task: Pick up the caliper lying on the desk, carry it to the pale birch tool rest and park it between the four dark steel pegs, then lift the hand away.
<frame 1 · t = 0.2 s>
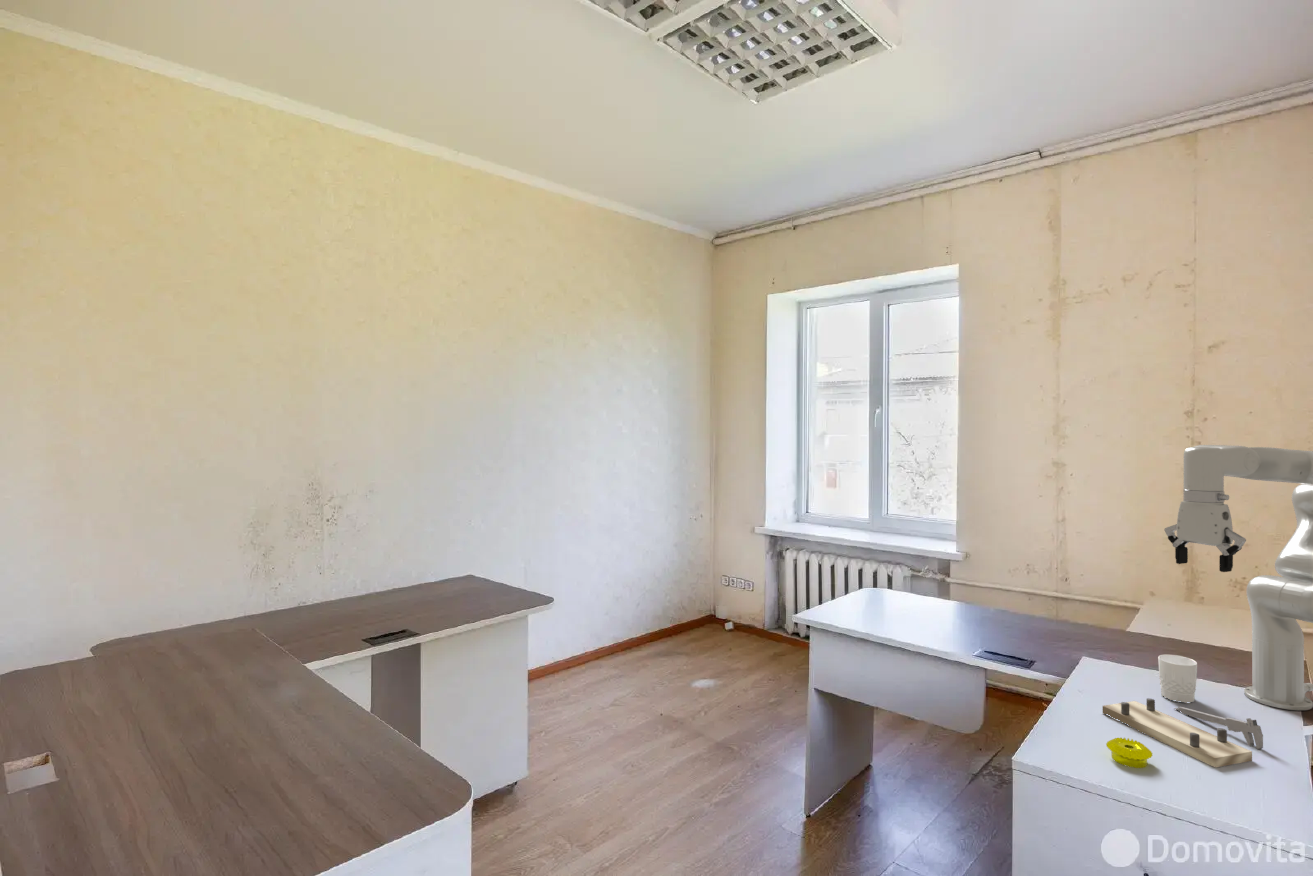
hand: (1203, 567, 158), 36 cm above the table, tool pointing down, fingers open, 9 cm apart
caliper: (1215, 730, 151), on the table
white cup: (1177, 699, 167), on the table
gear: (1129, 761, 138), on the table
tool rest: (1171, 735, 148), on the table
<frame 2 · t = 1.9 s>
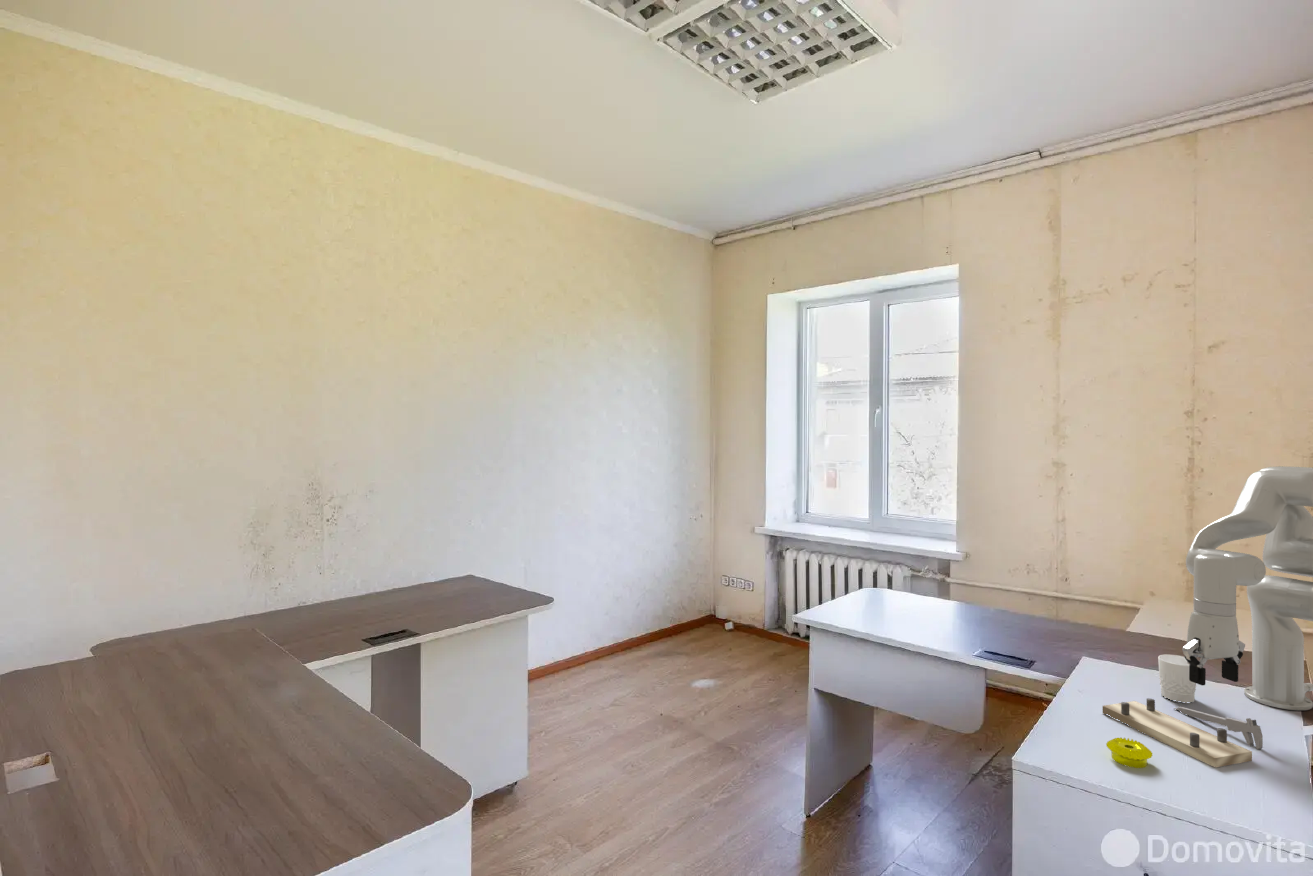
hand: (1213, 681, 150), 11 cm above the table, tool pointing down, fingers open, 9 cm apart
nothing on the table moved.
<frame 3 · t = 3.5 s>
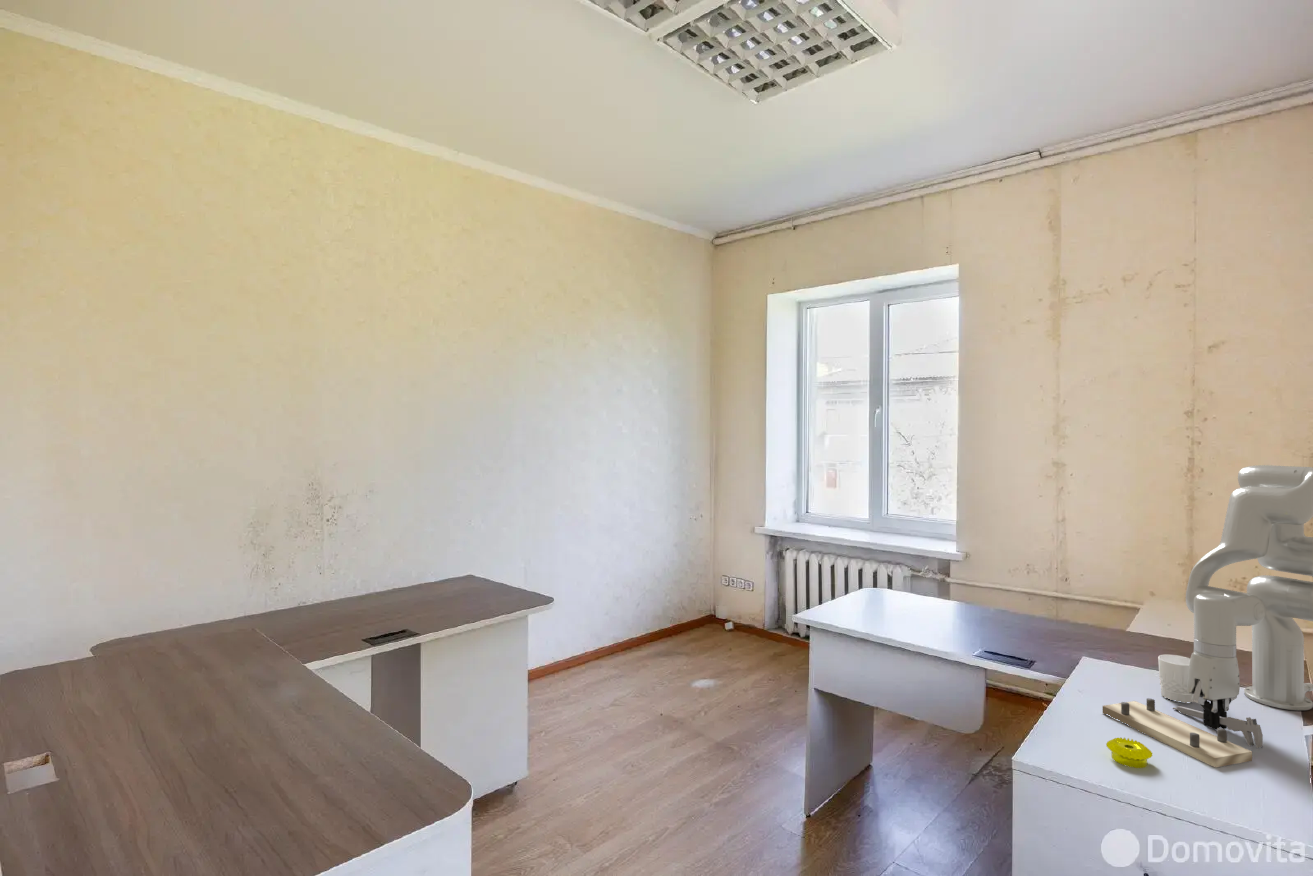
hand: (1215, 726, 151), 0 cm above the table, tool pointing down, fingers closed on caliper, 1 cm apart
caliper: (1214, 729, 151), on the table, touching gripper
everything else where it was.
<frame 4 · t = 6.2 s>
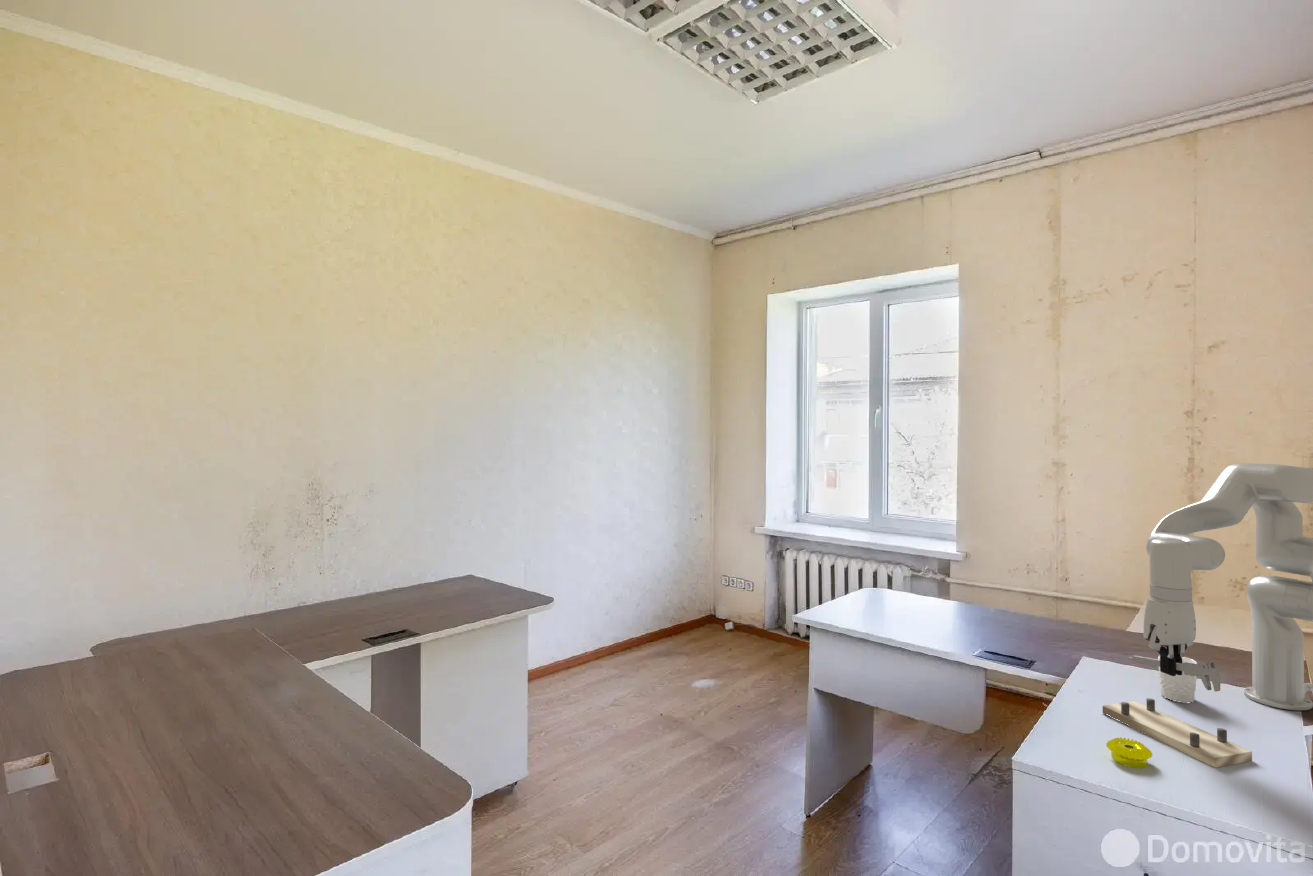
hand: (1171, 673, 148), 14 cm above the table, tool pointing down, fingers closed on caliper, 1 cm apart
caliper: (1170, 676, 148), point 14 cm above the table, touching gripper
everything else where it was.
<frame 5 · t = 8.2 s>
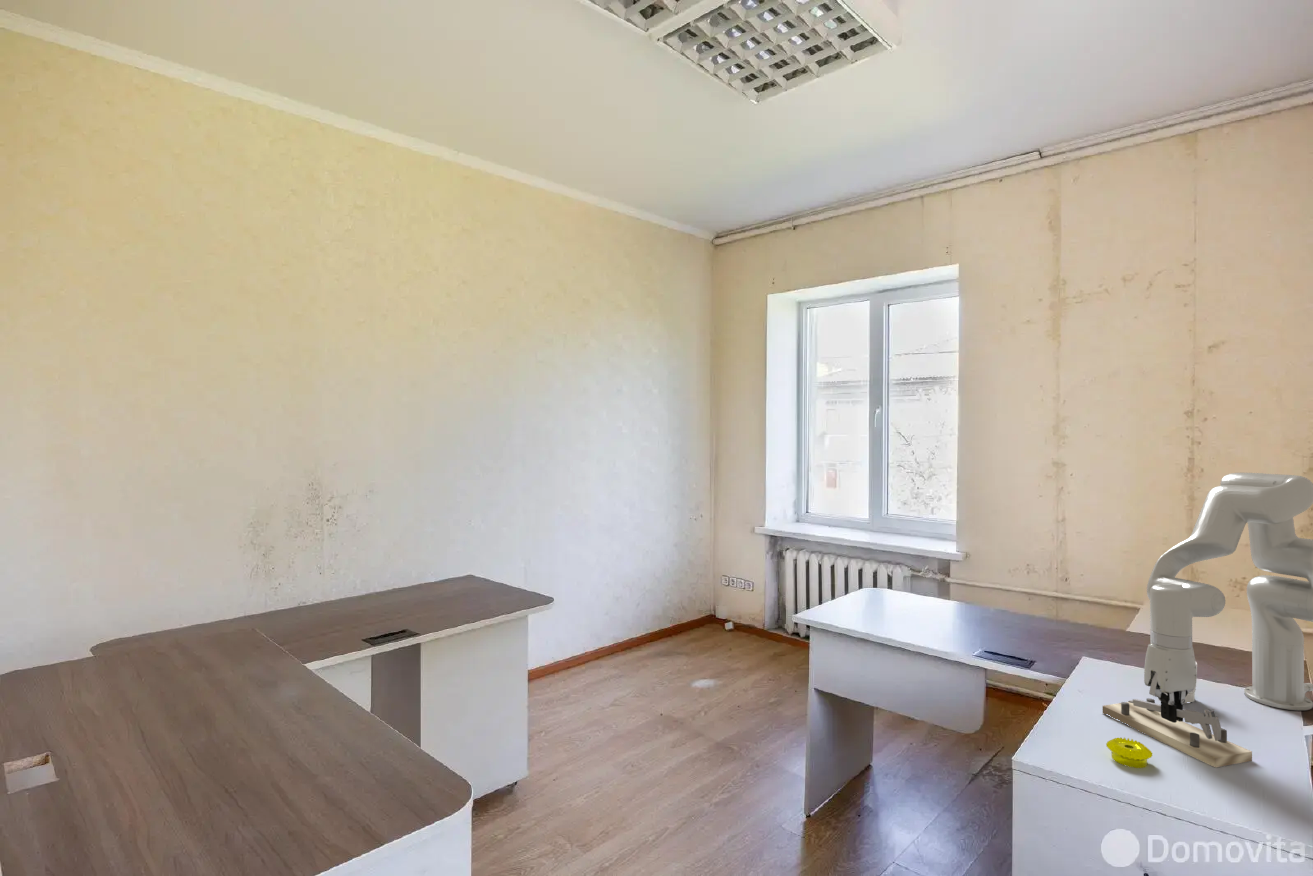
hand: (1171, 719, 148), 4 cm above the table, tool pointing down, fingers closed on caliper, 1 cm apart
caliper: (1171, 722, 148), point 3 cm above the table, touching gripper
everything else where it was.
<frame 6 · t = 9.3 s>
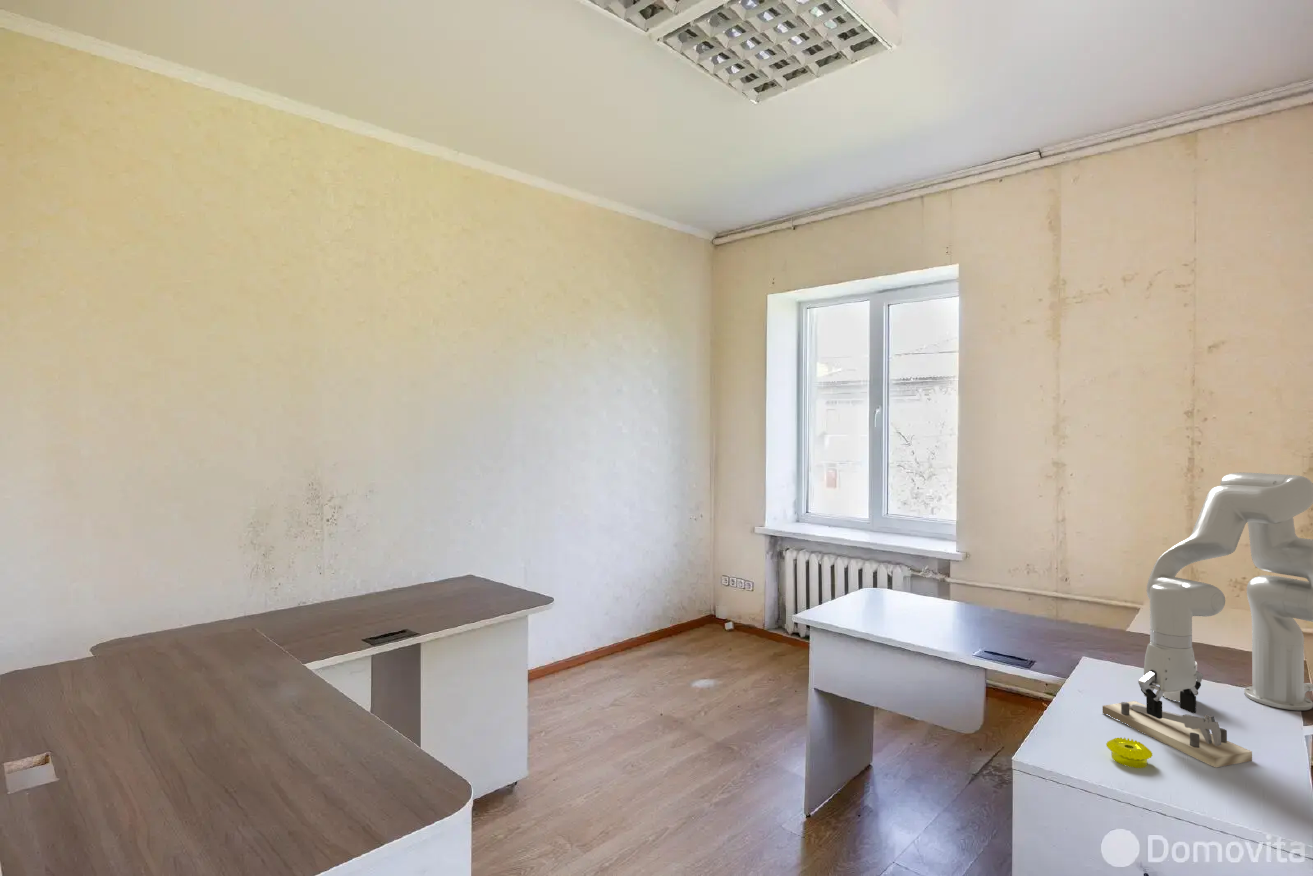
hand: (1171, 713, 148), 5 cm above the table, tool pointing down, fingers open, 9 cm apart
caliper: (1171, 727, 148), point 2 cm above the table, touching tool rest
everything else where it was.
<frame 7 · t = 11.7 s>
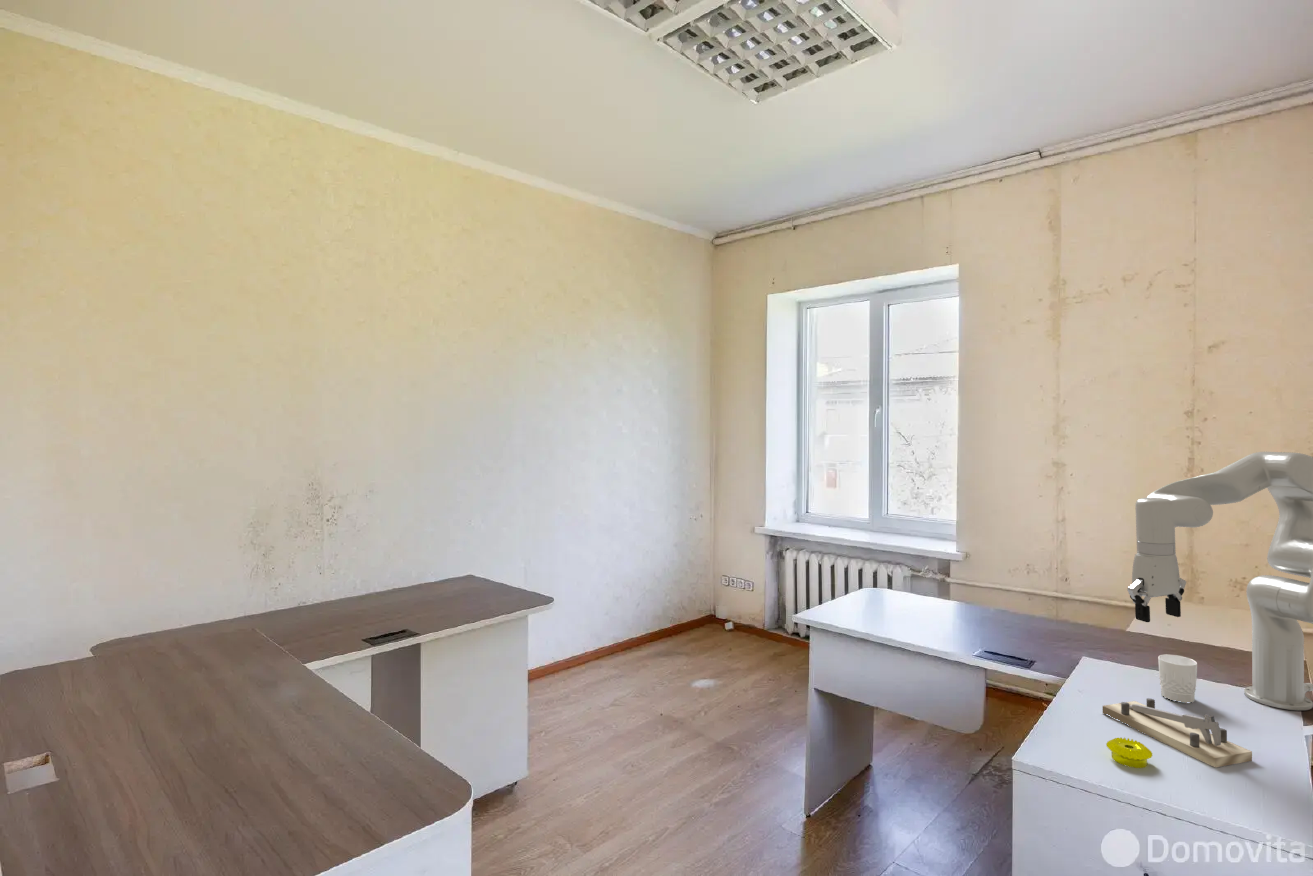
hand: (1158, 618, 158), 24 cm above the table, tool pointing down, fingers open, 9 cm apart
nothing on the table moved.
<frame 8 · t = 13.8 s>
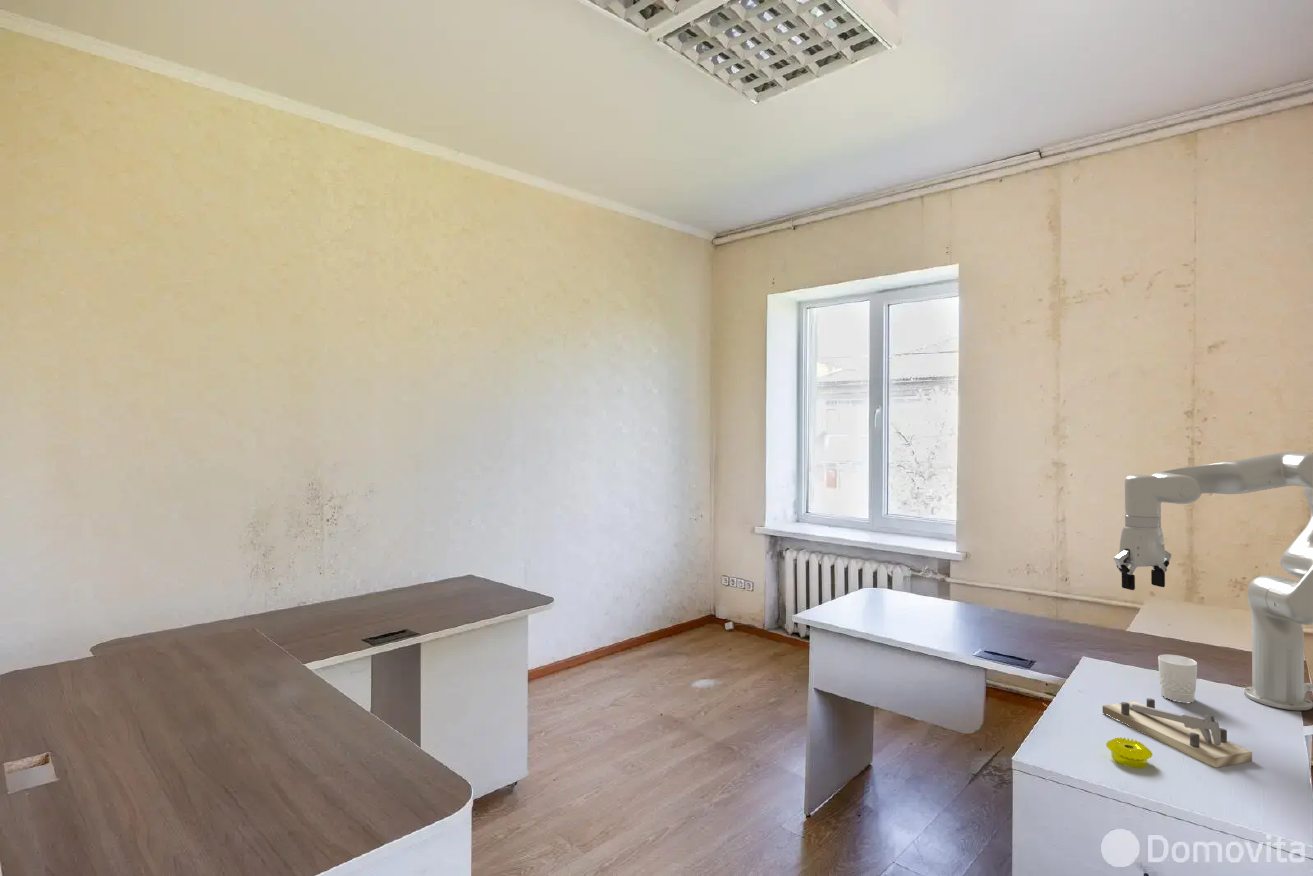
hand: (1143, 587, 169), 28 cm above the table, tool pointing down, fingers open, 9 cm apart
nothing on the table moved.
at the end: caliper inside the target area on the tool rest (0.3 cm from its centre), point 1.8 cm above the tool rest's base; caliper touching tool rest; the gripper is holding nothing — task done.
